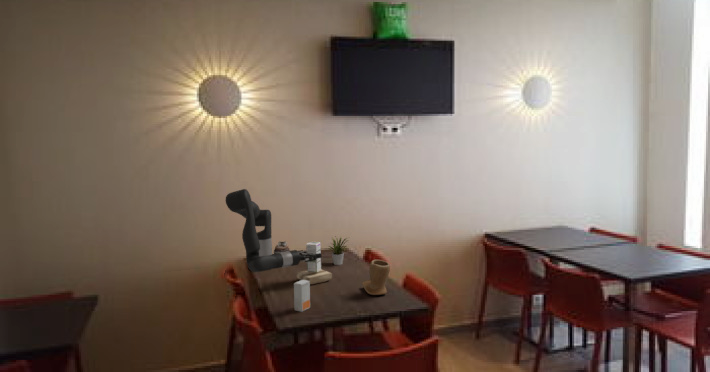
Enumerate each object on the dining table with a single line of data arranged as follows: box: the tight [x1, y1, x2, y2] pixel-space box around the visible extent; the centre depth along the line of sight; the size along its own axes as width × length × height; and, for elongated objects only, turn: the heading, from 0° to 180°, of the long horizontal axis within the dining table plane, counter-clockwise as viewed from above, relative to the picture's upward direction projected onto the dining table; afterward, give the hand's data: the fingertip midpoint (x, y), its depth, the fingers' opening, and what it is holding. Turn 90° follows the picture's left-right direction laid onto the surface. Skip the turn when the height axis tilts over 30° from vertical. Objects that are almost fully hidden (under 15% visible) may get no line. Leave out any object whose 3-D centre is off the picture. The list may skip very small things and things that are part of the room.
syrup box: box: [305, 241, 322, 272], centre depth 249 cm, size 6×6×14 cm
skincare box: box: [293, 279, 311, 313], centre depth 209 cm, size 6×4×12 cm
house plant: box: [328, 235, 350, 266], centre depth 280 cm, size 14×14×16 cm
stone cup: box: [362, 259, 391, 296], centre depth 230 cm, size 15×12×15 cm
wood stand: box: [296, 268, 333, 286], centre depth 250 cm, size 13×13×4 cm
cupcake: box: [273, 241, 291, 254], centre depth 297 cm, size 10×10×10 cm
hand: (316, 253), depth 250 cm, fingers closed on syrup box, 8 cm apart
